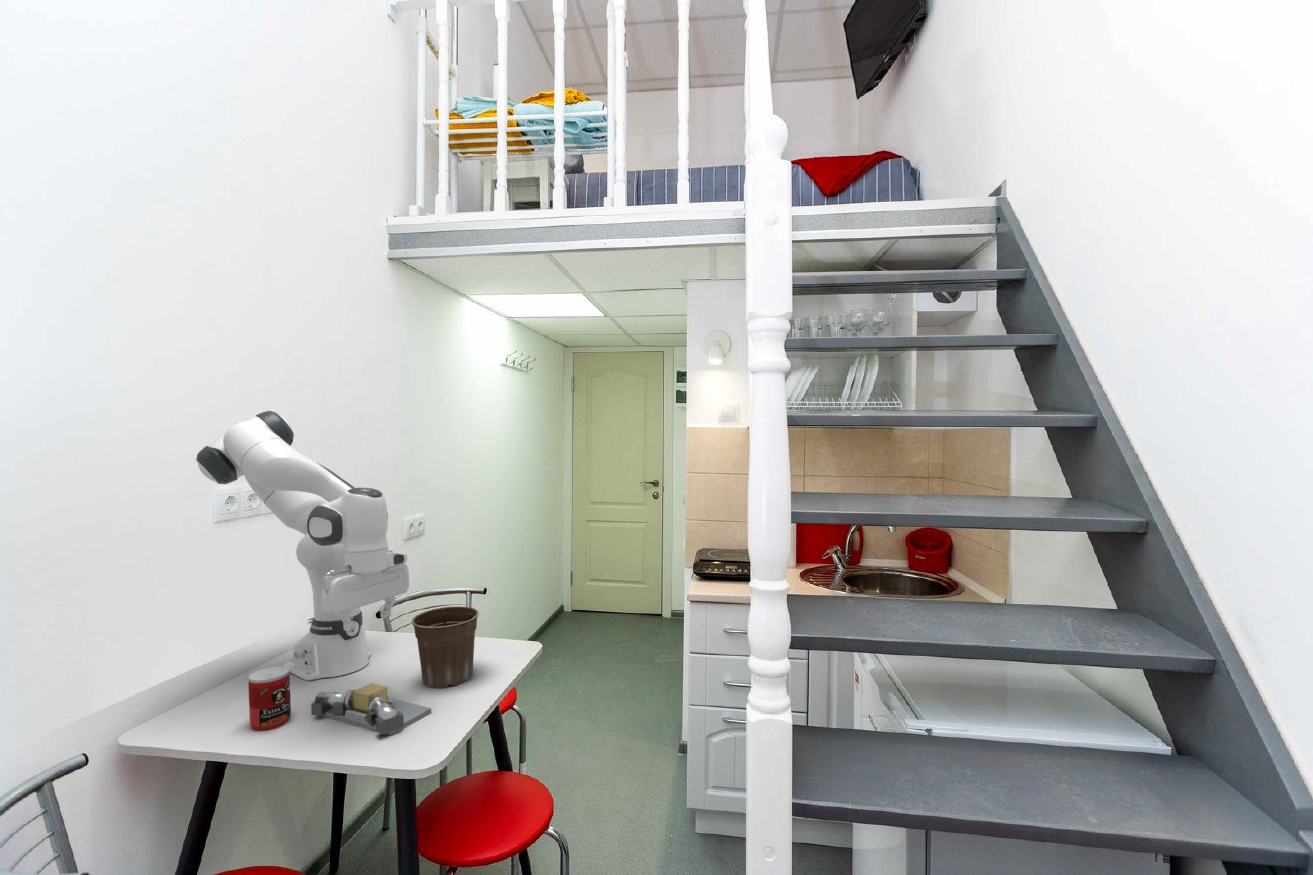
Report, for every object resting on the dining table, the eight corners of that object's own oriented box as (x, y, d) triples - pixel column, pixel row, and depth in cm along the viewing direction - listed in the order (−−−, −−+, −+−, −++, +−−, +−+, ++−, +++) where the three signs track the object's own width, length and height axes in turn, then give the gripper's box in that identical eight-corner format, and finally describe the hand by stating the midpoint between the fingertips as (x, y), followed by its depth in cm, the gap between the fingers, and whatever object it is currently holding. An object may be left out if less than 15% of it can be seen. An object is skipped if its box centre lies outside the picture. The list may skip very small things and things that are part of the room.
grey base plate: (318, 714, 137) (317, 705, 137) (360, 694, 146) (360, 685, 146) (390, 735, 127) (390, 725, 127) (431, 712, 136) (431, 702, 136)
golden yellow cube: (368, 718, 132) (368, 695, 132) (353, 714, 134) (352, 691, 134) (388, 708, 137) (387, 686, 137) (372, 704, 139) (371, 682, 139)
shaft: (311, 715, 134) (310, 694, 134) (325, 705, 139) (324, 685, 139) (346, 715, 134) (345, 695, 134) (359, 705, 138) (358, 686, 138)
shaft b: (403, 726, 128) (403, 705, 128) (380, 734, 125) (379, 712, 125) (388, 713, 134) (388, 693, 134) (366, 721, 131) (365, 700, 131)
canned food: (261, 734, 128) (259, 683, 128) (242, 725, 132) (240, 675, 132) (298, 719, 135) (296, 670, 134) (279, 711, 139) (278, 663, 139)
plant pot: (460, 694, 145) (458, 627, 145) (399, 690, 149) (397, 624, 148) (491, 667, 161) (490, 607, 161) (436, 664, 165) (434, 605, 164)
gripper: (333, 573, 124) (335, 640, 125) (413, 553, 143) (414, 612, 143) (313, 570, 127) (314, 636, 127) (393, 551, 145) (395, 609, 146)
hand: (368, 623), depth 135 cm, fingers open, 8 cm apart
